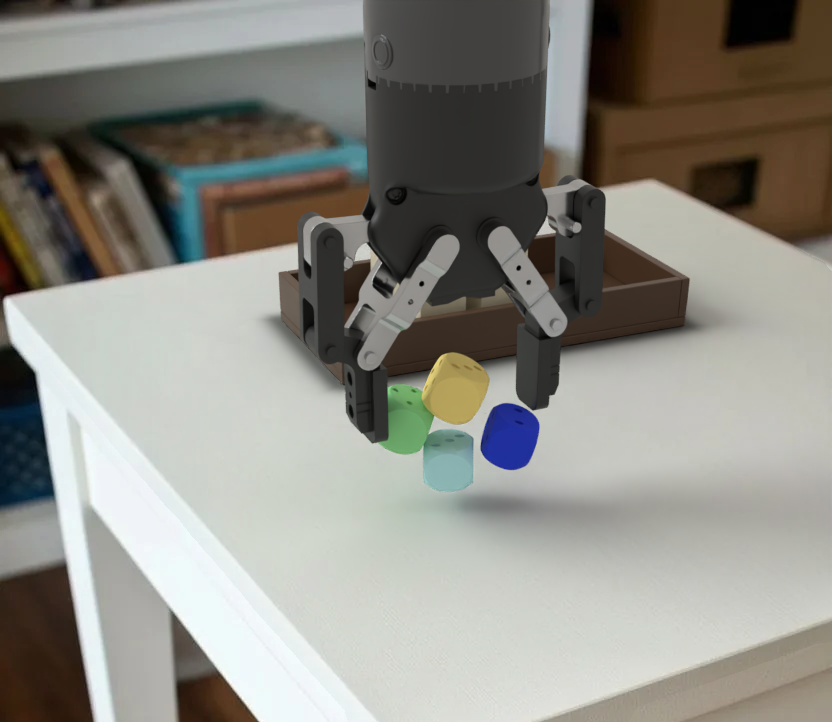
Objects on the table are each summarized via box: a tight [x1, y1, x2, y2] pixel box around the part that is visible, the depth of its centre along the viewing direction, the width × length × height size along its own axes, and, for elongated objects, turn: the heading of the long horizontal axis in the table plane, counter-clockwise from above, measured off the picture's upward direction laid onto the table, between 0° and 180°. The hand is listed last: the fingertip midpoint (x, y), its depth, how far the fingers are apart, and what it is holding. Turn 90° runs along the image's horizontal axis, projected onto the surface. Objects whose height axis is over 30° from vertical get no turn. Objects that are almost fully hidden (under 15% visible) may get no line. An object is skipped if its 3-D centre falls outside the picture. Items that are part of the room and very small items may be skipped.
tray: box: [278, 228, 691, 385], centre depth 87 cm, size 23×11×3 cm, turn 113°
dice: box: [377, 352, 541, 493], centre depth 66 cm, size 8×3×6 cm, turn 88°
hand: (453, 419), depth 66 cm, fingers closed on dice, 8 cm apart
